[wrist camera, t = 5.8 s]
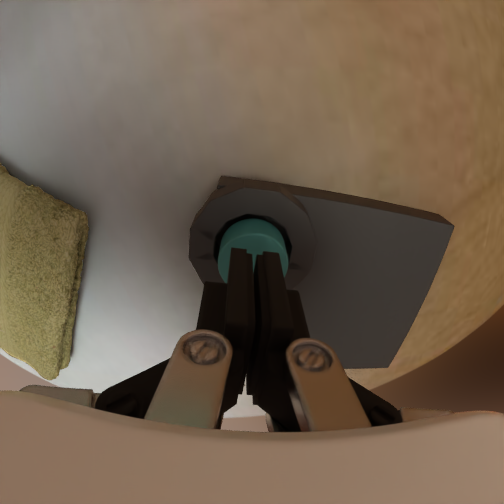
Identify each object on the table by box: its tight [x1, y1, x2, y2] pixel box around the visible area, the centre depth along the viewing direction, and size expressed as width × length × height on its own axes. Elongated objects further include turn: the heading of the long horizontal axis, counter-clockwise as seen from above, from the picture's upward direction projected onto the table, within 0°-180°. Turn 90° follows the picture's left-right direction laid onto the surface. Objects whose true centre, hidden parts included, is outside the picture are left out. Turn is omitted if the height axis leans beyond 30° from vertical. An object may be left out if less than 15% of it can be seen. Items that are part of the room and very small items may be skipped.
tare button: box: [218, 218, 288, 283], centre depth 14 cm, size 3×3×2 cm
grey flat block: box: [189, 176, 454, 369], centre depth 17 cm, size 15×12×4 cm
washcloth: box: [0, 163, 89, 380], centre depth 17 cm, size 13×18×3 cm
